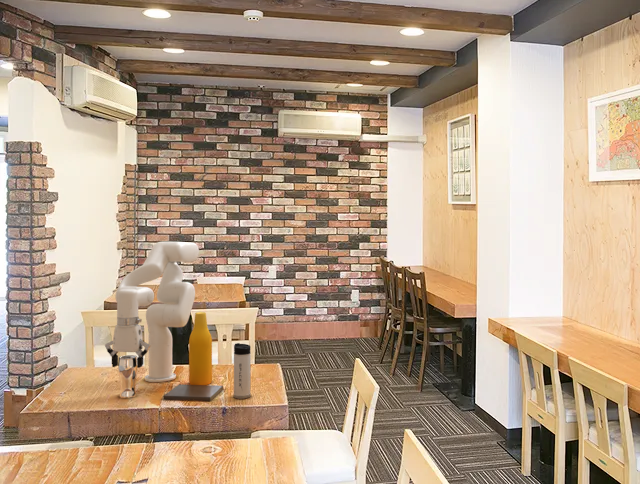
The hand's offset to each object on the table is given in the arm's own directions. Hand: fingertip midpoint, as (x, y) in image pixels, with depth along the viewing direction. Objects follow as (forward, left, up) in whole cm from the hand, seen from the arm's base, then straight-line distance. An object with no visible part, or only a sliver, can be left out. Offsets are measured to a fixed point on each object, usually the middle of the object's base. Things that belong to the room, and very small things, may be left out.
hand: (127, 366), depth 242 cm
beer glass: (0, 0, -12) cm, 12 cm away
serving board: (-5, +24, -11) cm, 27 cm away
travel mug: (-4, +43, -12) cm, 45 cm away
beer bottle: (-21, +21, -12) cm, 32 cm away
